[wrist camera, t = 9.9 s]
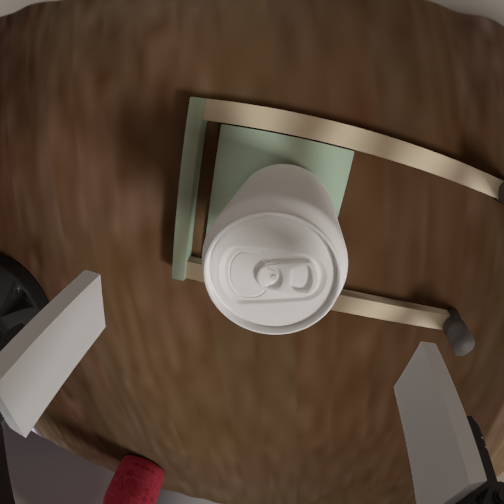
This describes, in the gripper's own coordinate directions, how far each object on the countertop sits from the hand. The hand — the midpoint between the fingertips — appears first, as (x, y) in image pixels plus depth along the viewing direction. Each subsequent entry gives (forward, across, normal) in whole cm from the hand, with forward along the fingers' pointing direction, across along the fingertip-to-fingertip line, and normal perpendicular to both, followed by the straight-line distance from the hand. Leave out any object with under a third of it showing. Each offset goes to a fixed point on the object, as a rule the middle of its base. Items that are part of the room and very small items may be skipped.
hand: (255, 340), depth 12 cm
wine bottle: (+18, -16, -58) cm, 63 cm away
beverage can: (+17, 0, 0) cm, 17 cm away
